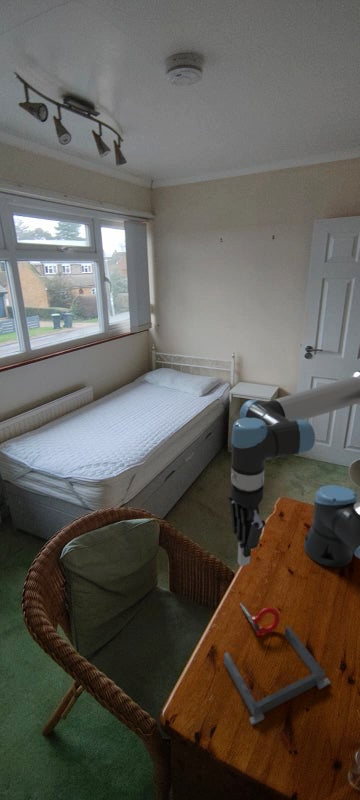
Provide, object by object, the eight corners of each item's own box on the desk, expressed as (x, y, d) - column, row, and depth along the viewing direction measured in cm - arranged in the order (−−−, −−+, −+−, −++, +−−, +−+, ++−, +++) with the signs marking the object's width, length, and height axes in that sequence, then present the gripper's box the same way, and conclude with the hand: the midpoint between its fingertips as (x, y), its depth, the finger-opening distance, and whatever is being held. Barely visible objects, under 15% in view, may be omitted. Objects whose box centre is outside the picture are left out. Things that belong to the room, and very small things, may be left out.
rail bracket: (290, 632, 99) (291, 624, 98) (329, 684, 87) (331, 675, 86) (220, 664, 91) (220, 655, 90) (252, 725, 79) (252, 716, 78)
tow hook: (283, 626, 99) (258, 639, 98) (263, 602, 109) (241, 614, 107) (276, 604, 98) (251, 618, 96) (257, 583, 108) (235, 594, 106)
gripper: (219, 473, 92) (218, 550, 100) (248, 502, 81) (244, 586, 89) (245, 466, 95) (242, 542, 103) (277, 493, 83) (271, 576, 92)
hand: (243, 562), depth 96 cm, fingers closed
